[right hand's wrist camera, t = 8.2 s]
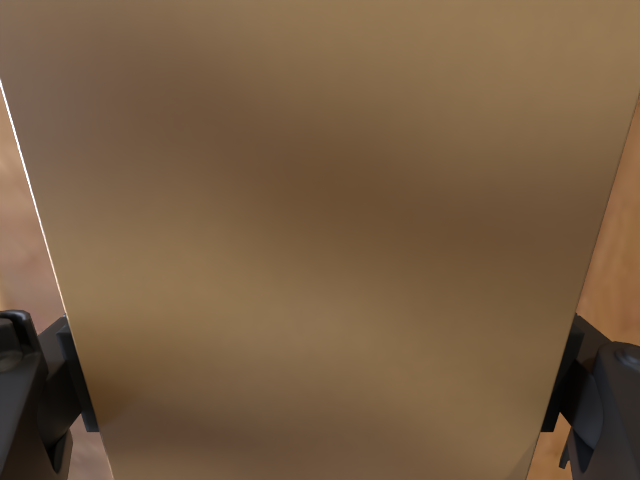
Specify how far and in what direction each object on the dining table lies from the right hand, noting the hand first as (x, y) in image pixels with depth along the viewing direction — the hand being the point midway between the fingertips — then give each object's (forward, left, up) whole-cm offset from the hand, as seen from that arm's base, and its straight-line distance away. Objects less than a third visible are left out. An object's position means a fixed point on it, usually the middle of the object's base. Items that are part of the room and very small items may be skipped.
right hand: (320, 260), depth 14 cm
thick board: (+10, -32, -1) cm, 34 cm away
